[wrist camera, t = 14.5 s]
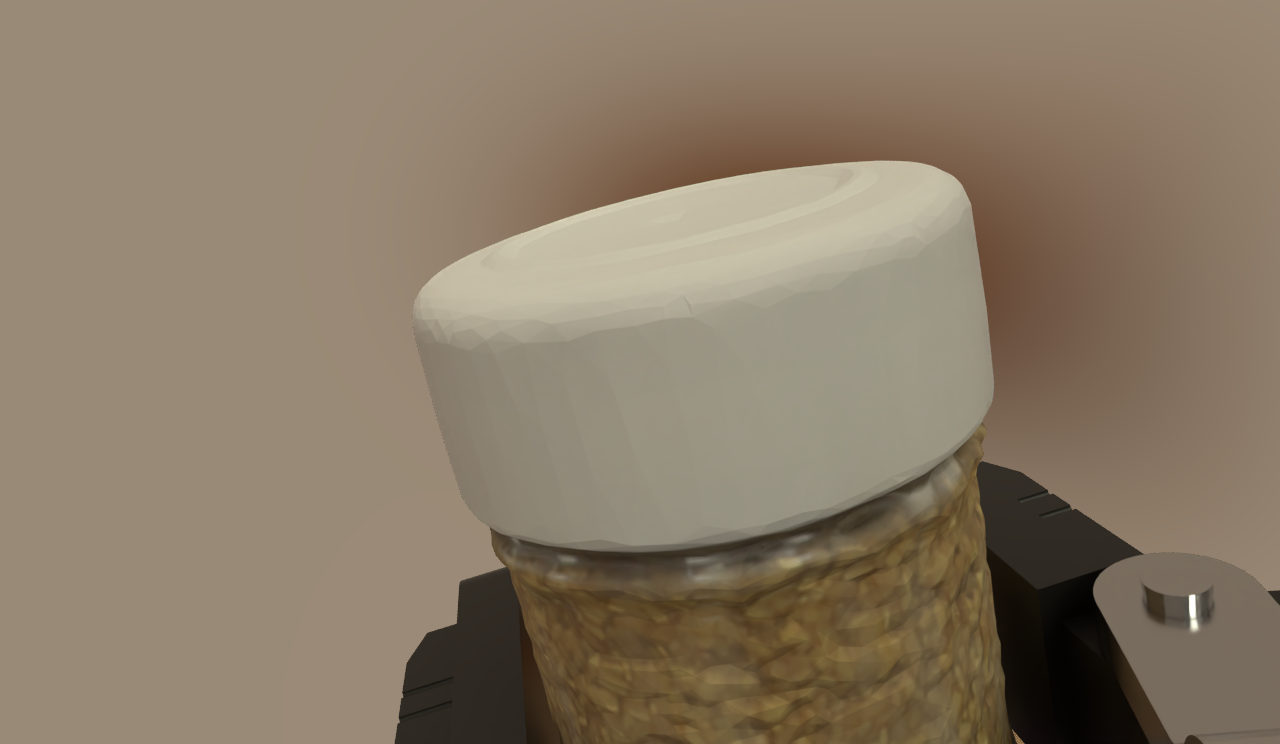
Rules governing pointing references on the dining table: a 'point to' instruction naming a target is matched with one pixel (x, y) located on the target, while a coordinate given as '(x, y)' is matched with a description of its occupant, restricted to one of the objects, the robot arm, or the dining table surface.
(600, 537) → the sprinkles bottle
